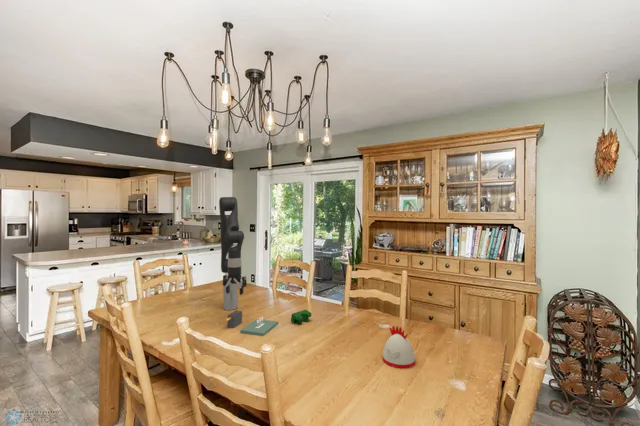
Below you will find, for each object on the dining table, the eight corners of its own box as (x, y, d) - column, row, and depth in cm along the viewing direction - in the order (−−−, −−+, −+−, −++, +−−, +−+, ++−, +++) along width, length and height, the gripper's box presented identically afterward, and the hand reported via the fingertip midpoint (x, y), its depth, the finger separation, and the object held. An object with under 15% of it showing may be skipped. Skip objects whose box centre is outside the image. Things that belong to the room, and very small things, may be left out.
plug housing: (236, 322, 182) (236, 310, 182) (241, 322, 181) (241, 310, 181) (223, 329, 170) (223, 317, 170) (229, 330, 169) (229, 318, 169)
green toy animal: (298, 331, 179) (296, 320, 175) (292, 326, 183) (289, 315, 179) (313, 319, 186) (311, 308, 182) (307, 315, 190) (305, 303, 186)
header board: (256, 321, 183) (256, 312, 183) (278, 324, 179) (278, 314, 179) (240, 332, 166) (240, 322, 166) (263, 336, 162) (263, 325, 162)
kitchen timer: (391, 350, 146) (391, 319, 146) (419, 359, 137) (420, 325, 137) (376, 361, 135) (377, 327, 135) (406, 372, 126) (407, 335, 126)
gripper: (248, 265, 179) (248, 293, 179) (227, 263, 183) (227, 291, 183) (241, 267, 171) (241, 296, 172) (219, 266, 176) (219, 294, 176)
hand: (234, 293), depth 177 cm, fingers open, 8 cm apart
